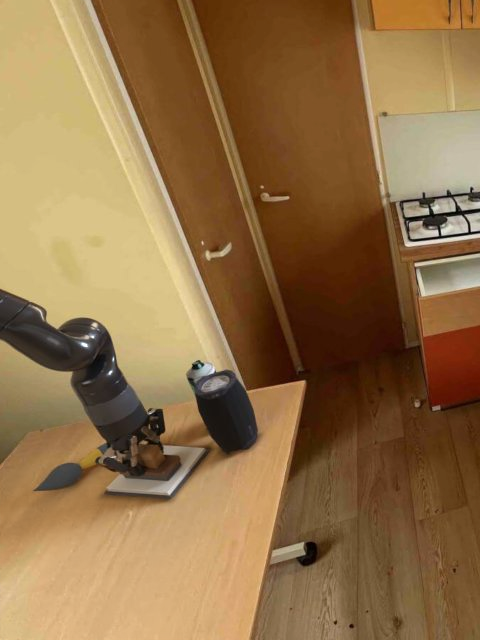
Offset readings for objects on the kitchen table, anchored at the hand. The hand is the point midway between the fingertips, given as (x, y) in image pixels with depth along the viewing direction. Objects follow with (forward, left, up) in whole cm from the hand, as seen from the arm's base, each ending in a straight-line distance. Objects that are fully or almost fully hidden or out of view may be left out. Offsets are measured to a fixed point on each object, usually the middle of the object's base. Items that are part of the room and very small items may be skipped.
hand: (149, 464), depth 92 cm
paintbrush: (-16, +2, -4) cm, 17 cm away
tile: (0, +1, -4) cm, 4 cm away
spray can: (+5, +15, -4) cm, 17 cm away
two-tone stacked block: (0, 0, -2) cm, 2 cm away
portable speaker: (+13, +10, -4) cm, 17 cm away
